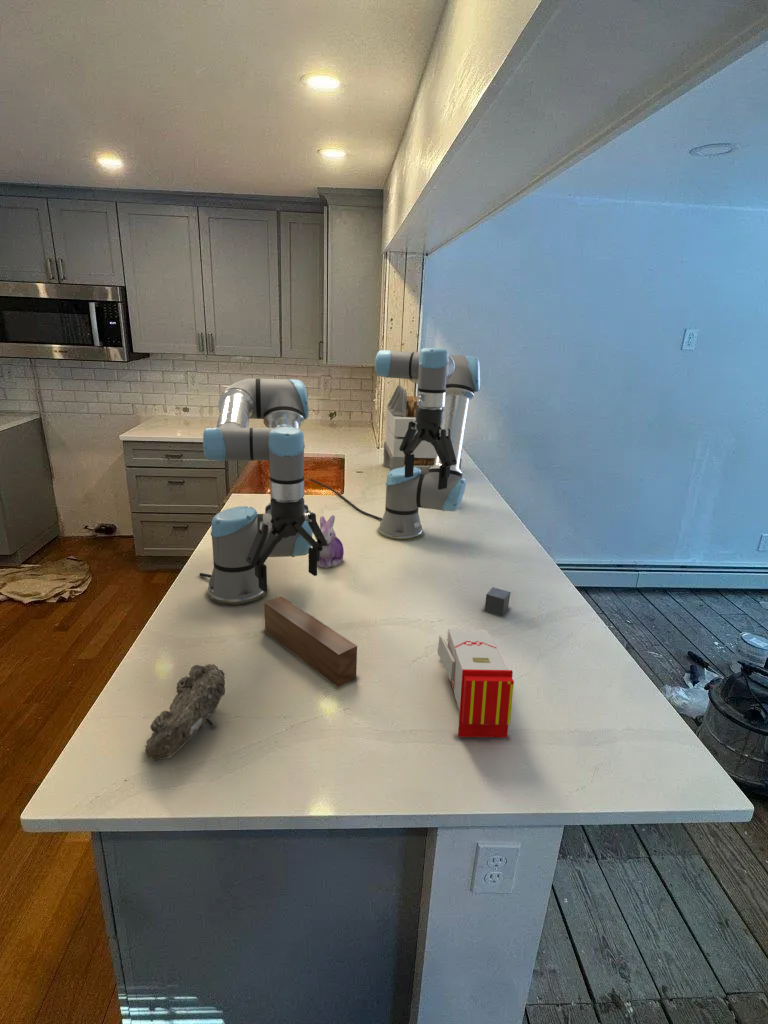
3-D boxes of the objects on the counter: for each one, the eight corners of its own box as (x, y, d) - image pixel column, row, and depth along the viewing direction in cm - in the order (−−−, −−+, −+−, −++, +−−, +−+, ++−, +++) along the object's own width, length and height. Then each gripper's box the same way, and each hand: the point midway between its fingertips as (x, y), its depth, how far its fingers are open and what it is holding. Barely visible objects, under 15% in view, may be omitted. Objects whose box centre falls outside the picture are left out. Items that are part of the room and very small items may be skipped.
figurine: (321, 571, 169) (321, 524, 164) (309, 557, 177) (309, 512, 172) (350, 565, 173) (351, 520, 168) (337, 553, 182) (338, 509, 177)
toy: (488, 613, 130) (523, 677, 101) (484, 667, 133) (517, 744, 104) (435, 612, 130) (455, 676, 101) (432, 666, 133) (451, 743, 103)
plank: (282, 624, 140) (281, 596, 137) (356, 678, 121) (357, 645, 119) (264, 631, 137) (263, 602, 134) (338, 687, 118) (338, 654, 115)
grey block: (484, 610, 151) (486, 594, 149) (490, 603, 155) (492, 586, 153) (502, 616, 149) (504, 599, 147) (508, 608, 153) (510, 591, 151)
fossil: (174, 665, 116) (226, 633, 111) (207, 696, 118) (259, 665, 113) (119, 753, 96) (179, 718, 91) (161, 787, 99) (221, 755, 94)
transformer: (382, 463, 289) (386, 382, 275) (445, 464, 293) (451, 384, 279) (390, 482, 257) (394, 392, 243) (460, 483, 261) (468, 394, 247)
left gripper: (324, 483, 138) (323, 562, 145) (228, 502, 122) (232, 589, 130) (342, 492, 132) (340, 573, 140) (244, 513, 117) (248, 603, 125)
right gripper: (389, 401, 160) (386, 473, 167) (454, 416, 142) (448, 496, 150) (409, 399, 165) (405, 470, 172) (474, 413, 147) (467, 491, 154)
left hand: (288, 581), depth 135 cm, fingers open, 13 cm apart
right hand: (425, 482), depth 161 cm, fingers open, 13 cm apart
